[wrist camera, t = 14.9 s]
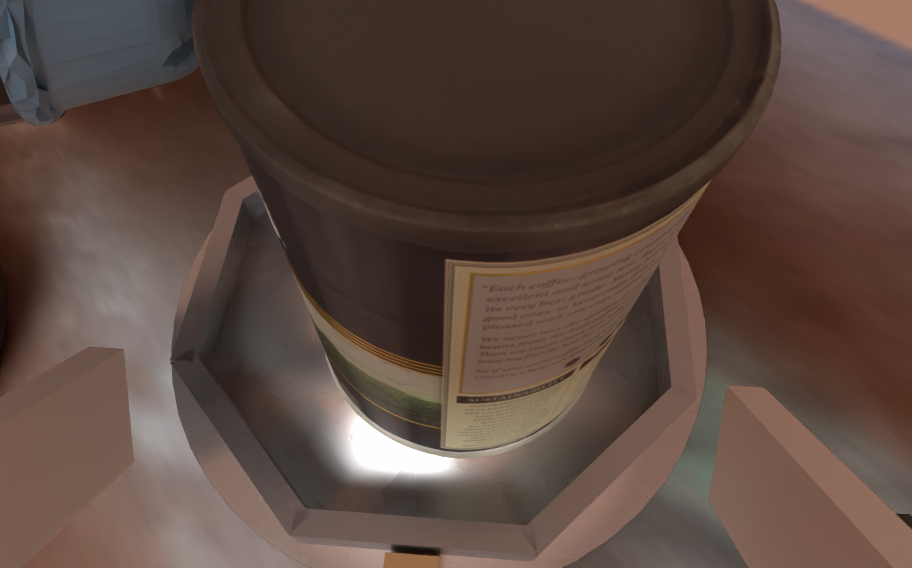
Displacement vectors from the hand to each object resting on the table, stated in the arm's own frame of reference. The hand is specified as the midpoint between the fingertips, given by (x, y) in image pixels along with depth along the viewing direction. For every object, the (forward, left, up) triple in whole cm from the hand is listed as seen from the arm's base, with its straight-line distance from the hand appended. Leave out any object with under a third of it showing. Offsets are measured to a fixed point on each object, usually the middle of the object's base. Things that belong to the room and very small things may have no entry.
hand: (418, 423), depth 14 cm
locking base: (0, +7, -9) cm, 11 cm away
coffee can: (+1, +6, -8) cm, 10 cm away
